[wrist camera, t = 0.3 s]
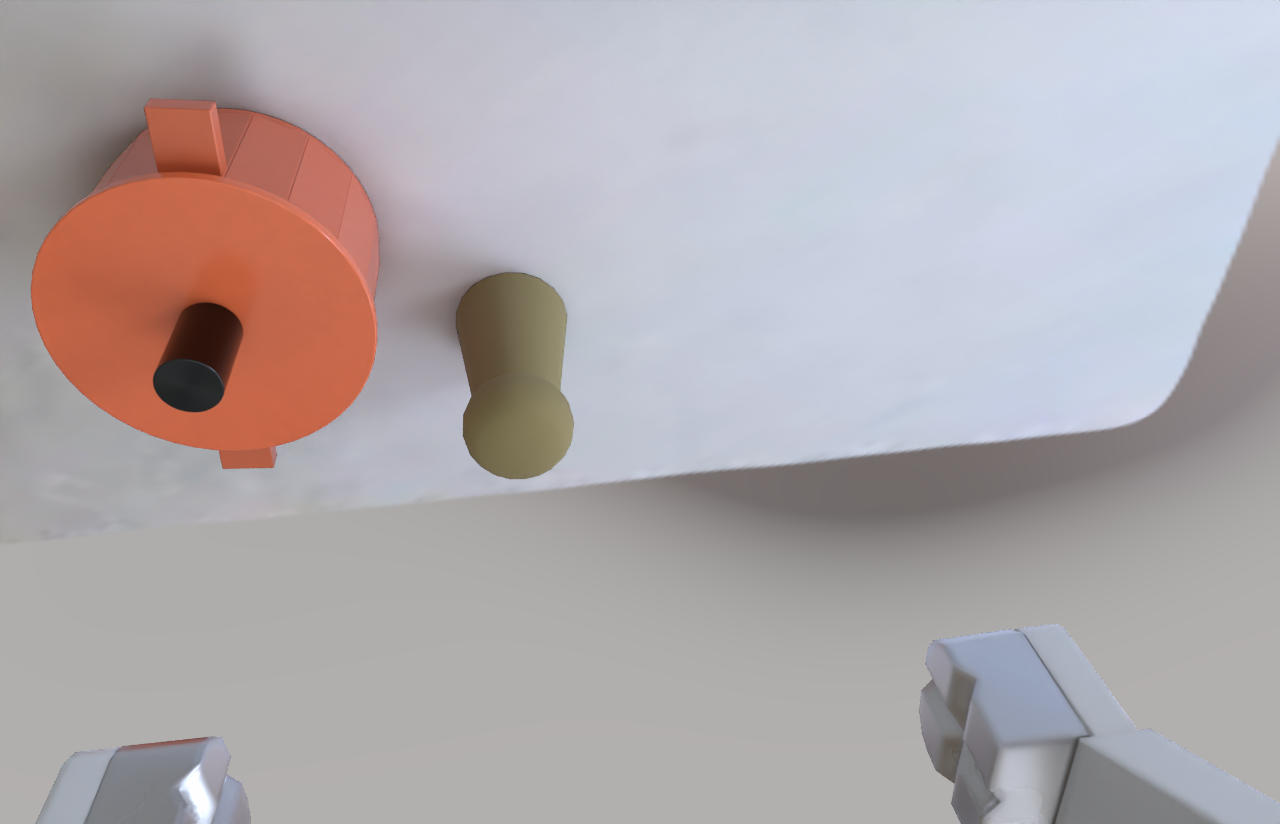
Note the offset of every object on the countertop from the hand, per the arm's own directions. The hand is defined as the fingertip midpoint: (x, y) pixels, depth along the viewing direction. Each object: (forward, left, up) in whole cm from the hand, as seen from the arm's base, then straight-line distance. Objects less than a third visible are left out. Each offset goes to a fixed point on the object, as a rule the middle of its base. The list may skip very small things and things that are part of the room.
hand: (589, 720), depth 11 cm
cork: (+19, +1, -39) cm, 43 cm away
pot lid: (+14, -12, -31) cm, 36 cm away
